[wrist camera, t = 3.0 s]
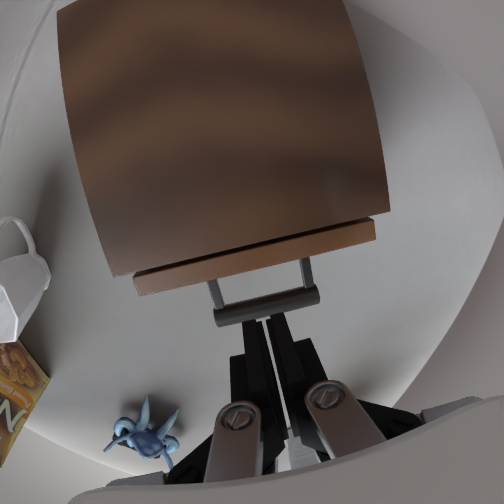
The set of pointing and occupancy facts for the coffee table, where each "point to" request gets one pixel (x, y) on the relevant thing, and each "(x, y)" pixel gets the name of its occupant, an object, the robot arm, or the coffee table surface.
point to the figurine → (145, 436)
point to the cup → (20, 286)
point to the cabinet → (217, 123)
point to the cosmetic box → (299, 452)
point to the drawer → (255, 259)
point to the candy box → (17, 391)
